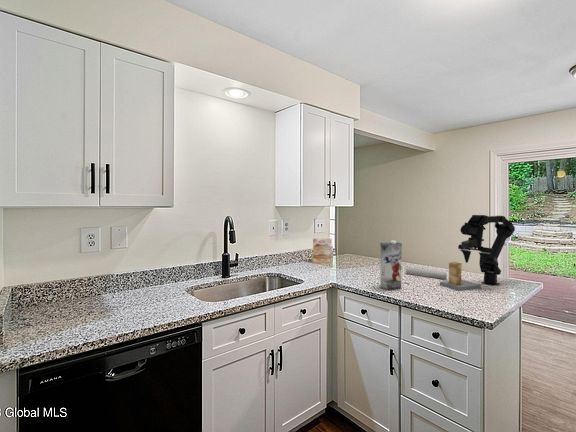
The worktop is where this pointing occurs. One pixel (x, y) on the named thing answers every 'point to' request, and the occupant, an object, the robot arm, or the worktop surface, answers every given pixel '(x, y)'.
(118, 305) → the worktop surface
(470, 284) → the socket board
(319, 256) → the coffeecake box
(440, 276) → the tube
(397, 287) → the juice carton
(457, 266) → the pin
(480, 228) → the robot arm
